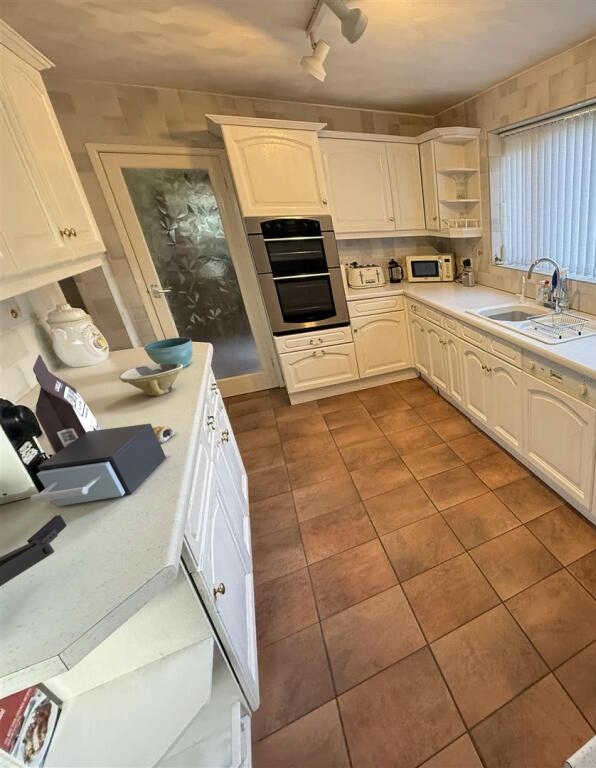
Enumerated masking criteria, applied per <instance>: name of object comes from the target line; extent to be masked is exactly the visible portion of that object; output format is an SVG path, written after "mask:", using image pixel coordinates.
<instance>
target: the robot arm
mask: <svg viewBox="0 0 596 768" xmlns="http://www.w3.org/2000/svg"><path fill="white" fill-rule="evenodd" d="M67 526H68V525H67V523H66V521H65V520H64V518H63V517H62V515H61V514H57V515H54V516H53V517H52V518H51V519H50V520H48V522H46V523H45V524H44V525H43V526H42V527H40V529H38V530H37V531H36V532H35V533H34V534H33V535H32V536H31V537H29V538H28V539H27V540H26V542H27V543H26V544H24V545H22V546H20V547H18V548H16V549H13V550H12V551H10V552H7V553H5V554H4V555H1V556H0V587H2V586H3V585H5V584H7V583H9V582H10V581H11V580H13V579H14V578H16V577H18V576H20V575H21V574H22V573H24V572H26V571H27V570H29V569H31V568H32V567H33V566H35V565H36V564H38V563H40V562H42V561H43V560H45V559H47V558H48V557H49V556H51V555H53V554H54V553H55V550H54V548H53V546H52V545H51V543H53V542H54V540H55V539H56V538H57V537H58V535H59V534H61V532H62V531H63V530H64V529H65V528H66V527H67Z"/></svg>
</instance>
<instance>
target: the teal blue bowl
mask: <svg viewBox="0 0 596 768" xmlns="http://www.w3.org/2000/svg"><path fill="white" fill-rule="evenodd" d="M143 349H144V351H145V352H146V355H147V356H148V358H150V359H151V360H152V362H153V363H154V364H162V363H176V364H182V365H183V368H185V367H188V366H190V364H191V360H192V357H193V355H194V347H193V343H192V339H191V338H190V337H172V338H171V337H170V338H165V339H161V340H156V341H153V342H149V343H147V344H146V345H144V346H143Z"/></svg>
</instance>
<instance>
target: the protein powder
mask: <svg viewBox="0 0 596 768" xmlns="http://www.w3.org/2000/svg"><path fill="white" fill-rule="evenodd" d="M32 372H33V374H34V375H35V379H36V381H37V383H38V385H39V387H40V389H39V394H38V398H37V401H36V404H35V416H36V419H37V420H38V422H39V424H40V426H41V428H42V429H43V431H44V435H45V436H46V439H47V441H48V444H49V445H50V448H51V450H52V451H53V455H55V454H56V453H57V452H59V451H60V450H62V449H63V448H65V447H66V446H67V445H69V444H70V443H72V442H73V441H75V440H76V439H77V438H79V437H80V436H82V435H83V434H85V433H86V432H87V431H95V430H102V428H101V426H100V425H99V422H98V421H97V419H96V418H95V416H94V414H93V413H92V411H91V409H90V408H89V406H88V405H87V404H86V402H85V401H84V399H83V398H82V396H81V395H80V394H79V393H78V390H77V388H75V387H74V386H72V385H70V384H69V383H68V382H66V381H65V380H63V379H61V378H60V377H57V375H55V374H53V373H52V372H51V371H49V368H48V367H47V364H46V363H45V361H44V360H43V357H42V355H41V354H38V356H37V358H36V360H35V363H34V365H33V367H32Z"/></svg>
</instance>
